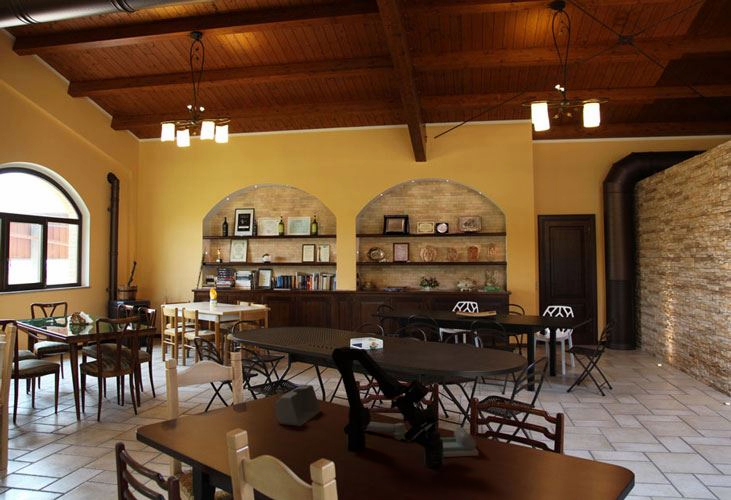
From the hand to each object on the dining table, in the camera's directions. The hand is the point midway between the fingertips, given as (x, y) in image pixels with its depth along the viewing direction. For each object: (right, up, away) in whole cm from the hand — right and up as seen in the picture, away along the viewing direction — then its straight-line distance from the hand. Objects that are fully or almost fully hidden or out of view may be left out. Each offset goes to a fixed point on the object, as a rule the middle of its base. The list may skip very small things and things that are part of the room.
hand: (437, 447), depth 184 cm
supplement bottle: (-1, -7, +1) cm, 7 cm away
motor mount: (+8, -7, +16) cm, 19 cm away
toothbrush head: (-19, -8, +33) cm, 39 cm away
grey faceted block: (-59, -8, +57) cm, 82 cm away
